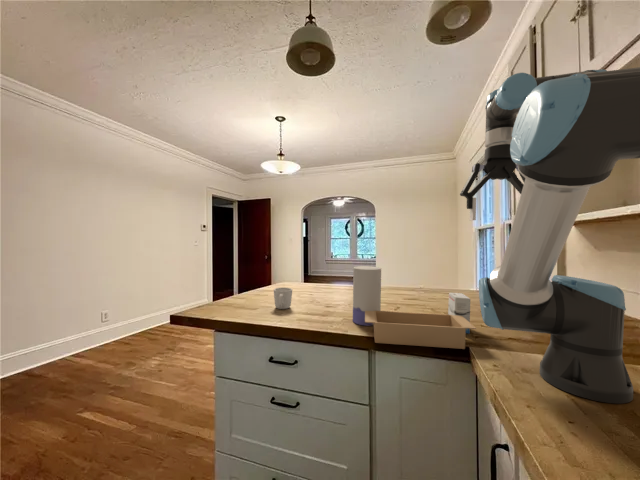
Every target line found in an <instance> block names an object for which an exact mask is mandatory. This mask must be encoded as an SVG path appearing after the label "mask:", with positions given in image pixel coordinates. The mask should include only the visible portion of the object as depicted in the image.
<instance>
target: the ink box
mask: <svg viewBox="0 0 640 480" xmlns="http://www.w3.org/2000/svg"><path fill="white" fill-rule="evenodd" d="M447 315H456V316H463V317H464V318H465V319H466V320H467V321H469V322H470V323H471V298H470V297H469V296H467V295H465V294H464V293H462V292H461V293H460V292H449V293H448V309H447ZM470 331H471V329H466V332H465V334H470V333H471V332H470Z"/></svg>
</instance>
